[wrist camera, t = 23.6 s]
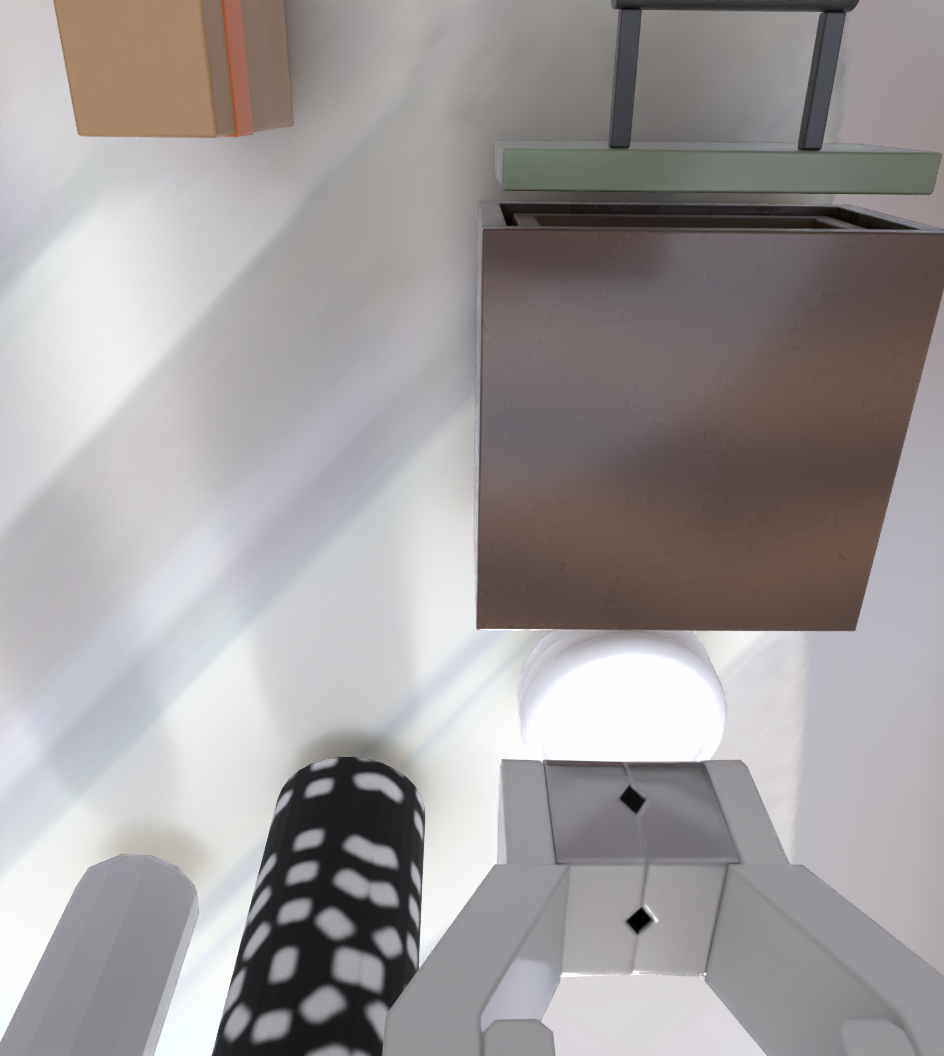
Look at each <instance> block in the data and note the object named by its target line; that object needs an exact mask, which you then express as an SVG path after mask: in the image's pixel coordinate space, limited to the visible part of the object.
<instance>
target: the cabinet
mask: <svg viewBox="0 0 944 1056" xmlns="http://www.w3.org/2000/svg"><path fill="white" fill-rule="evenodd" d="M515 213H548V214H654V215H759V216H828V217H831V218H833V219H837V220H840V221H844V222H847V223H850V224H853V225H856V226H859V227H863V228H866V229H770V228H662V227H554V226H512V225H513V214H515ZM943 290H944V229H940V228H936V227H932V226H929V225H924V224H921V223H917V222H914V221H909V220H906V219H902V218H898V217H895V216H891V215H887V214H883V213H880V212H876V211H872V210H868V209H864V208H861V207H856V206H853V205H844V204H841V205H839V204H742V203H638V202H534V201H478V242H477V323H476V404H475V485H474V557H475V596H476V628H477V630H628V631H855V630H856V626H857V622H858V618H859V614H860V610H861V606H862V603H863V599H864V595H865V591H866V587H867V583H868V580H869V576H870V572H871V568H872V564H873V560H874V556H875V552H876V548H877V545H878V541H879V537H880V533H881V529H882V525H883V522H884V517H885V514H886V510H887V506H888V502H889V498H890V494H891V491H892V486H893V483H894V479H895V475H896V471H897V467H898V464H899V460H900V456H901V452H902V448H903V444H904V440H905V437H906V433H907V428H908V425H909V421H910V417H911V413H912V409H913V406H914V402H915V398H916V394H917V390H918V386H919V382H920V379H921V375H922V370H923V366H924V363H925V359H926V355H927V351H928V348H929V344H930V340H931V336H932V332H933V328H934V324H935V321H936V317H937V313H938V309H939V305H940V301H941V297H942V294H943Z"/></svg>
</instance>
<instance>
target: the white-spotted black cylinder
mask: <svg viewBox="0 0 944 1056" xmlns="http://www.w3.org/2000/svg"><path fill="white" fill-rule="evenodd" d="M424 832H425V807H424V804H423V800H422V797H421V795H420V794H419V792H418V790H417V789H416V787H415V786H414V785H413V784H412V783H411V781H410V780H409V779H408V778H407V777H405V776H404V775H403V774H401V773H400V772H398V771H397V770H395V769H393V768H391V767H389V766H387V765H385V764H383V763H380V762H377V761H373V760H370V759H364V758H357V757H337V758H331V759H325V760H322V761H319V762H316V763H313V764H310V765H308V766H307V767H305V768H303V769H301V770H299V771H298V772H297V773H296V774H294V775H293V776H292V777H291V778H290V779H289V780H288V781H287V783H286V784H285V785H284V787H283V788H282V790H281V792H280V795H279V797H278V800H277V804H276V808H275V812H274V816H273V820H272V823H271V827H270V831H269V835H268V839H267V843H266V847H265V851H264V855H263V858H262V862H261V866H260V870H259V874H258V878H257V882H256V886H255V890H254V893H253V897H252V901H251V905H250V909H249V913H248V917H247V921H246V925H245V928H244V932H243V936H242V940H241V944H240V948H239V952H238V956H237V960H236V963H235V967H234V971H233V975H232V979H231V983H230V987H229V991H228V995H227V998H226V1002H225V1006H224V1010H223V1014H222V1018H221V1022H220V1026H219V1030H218V1033H217V1037H216V1041H215V1045H214V1049H213V1053H212V1056H382V1051H383V1040H384V1029H385V1018H386V1014H387V1013H388V1011H389V1010H390V1009H391V1007H392V1006H393V1004H394V1003H395V1002H396V1000H397V999H398V998H399V996H400V995H401V993H402V992H403V991H404V989H405V988H406V986H407V985H408V984H409V982H410V981H411V980H412V978H413V977H414V975H415V974H416V973H417V971H418V970H419V947H420V924H421V901H422V878H423V855H424Z"/></svg>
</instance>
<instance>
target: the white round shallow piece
mask: <svg viewBox="0 0 944 1056" xmlns="http://www.w3.org/2000/svg"><path fill="white" fill-rule="evenodd" d="M518 705H519V715H520V722H521V734H522V739H523V742H524V746H525V748H526V750H527V752H528V754H529V756H530V758H531V760H540V761H541V762H542V761H543V760H574V761H612V762H627V761H698V762H700V761H705V760H709V759H710V758H711V757H712V755H713V754H714V753H715V751H716V749H717V747H718V746H719V744H720V741H721V739H722V736H723V734H724V730H725V725H726V713H727V706H726V698H725V694H724V690H723V687H722V684H721V682H720V680H719V678H718V676H717V674H716V671H715V669H714V667H713V665H712V663H711V661H710V658H709V656H708V654H707V652H706V650H705V648H704V646H703V645H702V644H701V642H700V641H699V640H698V638H697V637H696V636H695V635H694V634H693V633H692V632H691V631H628V630H552V631H550V632H549V633H548V634H547V635H546V636H545V637H544V638H543V639H542V640H541V641H540V642H539V643H538V644H537V645H536V646H535V648H534V649H533V650H532V652H531V653H530V655H529V657H528V658H527V660H526V662H525V665H524V667H523V670H522V672H521V676H520V680H519V684H518Z"/></svg>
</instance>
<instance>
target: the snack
mask: <svg viewBox="0 0 944 1056" xmlns="http://www.w3.org/2000/svg"><path fill="white" fill-rule="evenodd" d="M54 6H55V11H56V17H57V22H58V28H59V33H60V38H61V44H62V49H63V55H64V60H65V66H66V71H67V77H68V82H69V87H70V93H71V98H72V104H73V109H74V115H75V120H76V126H77V131H78V134H79V135H80V136H102V137H195V138H216V137H239V136H245V135H251V134H253V132H256V131H262V130H269V129H276V128H282V127H289V126H292V125H293V113H292V100H291V87H290V74H289V61H288V48H287V36H286V23H285V10H284V0H54Z"/></svg>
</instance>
